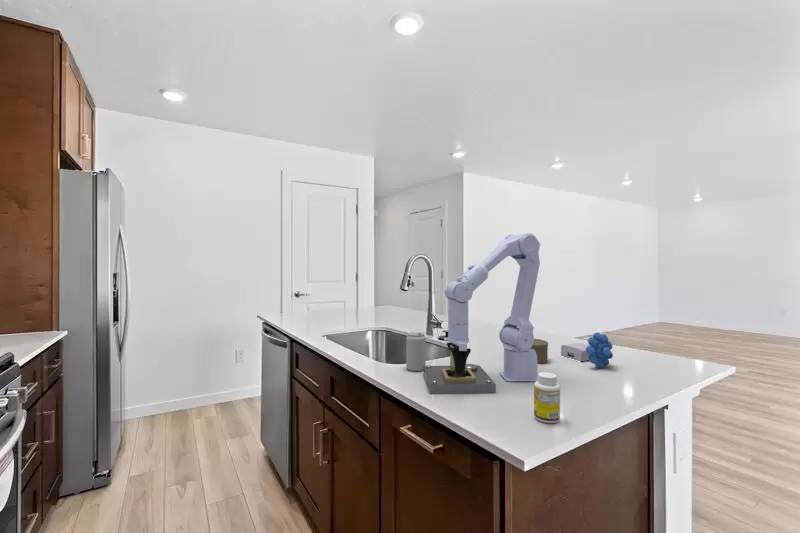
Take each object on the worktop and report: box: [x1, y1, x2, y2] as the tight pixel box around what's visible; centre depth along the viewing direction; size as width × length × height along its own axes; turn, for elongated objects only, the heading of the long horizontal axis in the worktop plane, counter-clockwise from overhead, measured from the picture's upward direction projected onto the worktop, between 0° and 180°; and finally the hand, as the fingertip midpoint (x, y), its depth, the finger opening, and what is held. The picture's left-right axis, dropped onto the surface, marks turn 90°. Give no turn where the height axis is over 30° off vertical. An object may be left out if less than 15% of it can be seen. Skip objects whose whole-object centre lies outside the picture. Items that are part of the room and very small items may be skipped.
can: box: [530, 338, 549, 365], centre depth 138 cm, size 12×12×7 cm
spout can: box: [449, 345, 466, 377], centre depth 111 cm, size 5×5×10 cm
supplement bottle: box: [533, 371, 561, 424], centre depth 88 cm, size 6×6×10 cm
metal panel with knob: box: [422, 363, 497, 395], centre depth 113 cm, size 18×18×4 cm
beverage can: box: [405, 331, 427, 372], centre depth 127 cm, size 6×6×12 cm
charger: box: [560, 342, 590, 362], centre depth 143 cm, size 5×9×15 cm
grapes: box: [586, 332, 614, 369], centre depth 128 cm, size 12×7×12 cm, turn 114°
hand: (458, 369), depth 111 cm, fingers closed on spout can, 5 cm apart
